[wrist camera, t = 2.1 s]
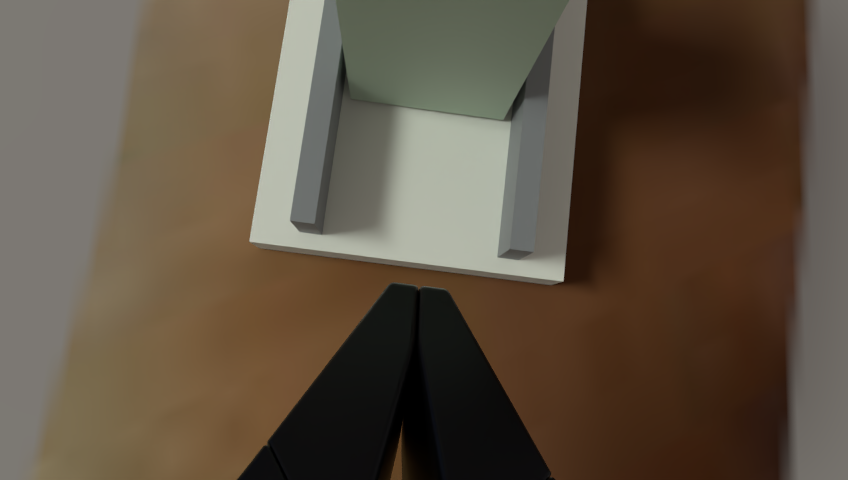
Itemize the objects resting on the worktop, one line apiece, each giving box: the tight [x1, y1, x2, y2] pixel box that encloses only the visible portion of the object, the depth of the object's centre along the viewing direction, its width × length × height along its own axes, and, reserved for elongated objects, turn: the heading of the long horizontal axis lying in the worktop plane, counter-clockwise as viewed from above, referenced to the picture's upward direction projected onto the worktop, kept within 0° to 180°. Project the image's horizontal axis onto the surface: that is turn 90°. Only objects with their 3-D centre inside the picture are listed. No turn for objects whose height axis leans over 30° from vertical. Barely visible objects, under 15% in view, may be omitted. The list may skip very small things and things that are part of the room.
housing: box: [249, 0, 587, 285], centre depth 19 cm, size 16×10×6 cm, turn 173°
